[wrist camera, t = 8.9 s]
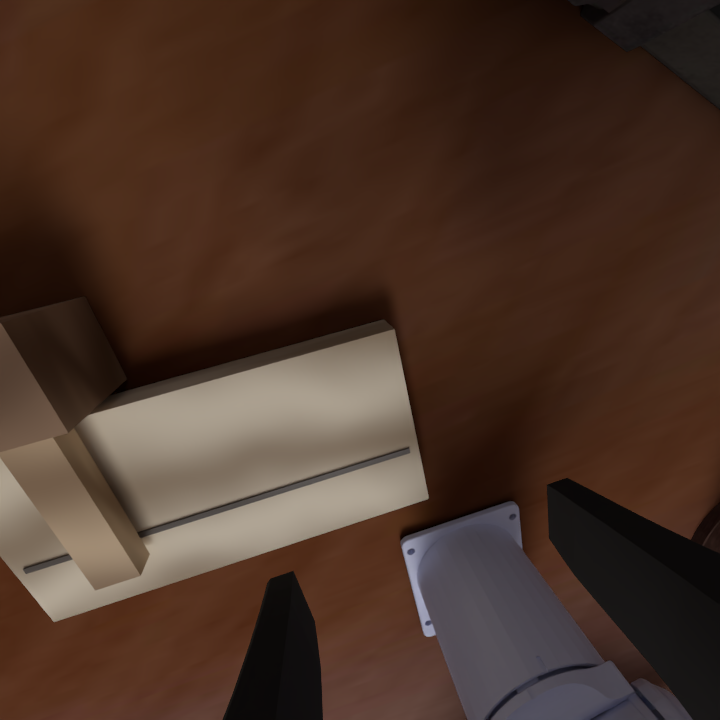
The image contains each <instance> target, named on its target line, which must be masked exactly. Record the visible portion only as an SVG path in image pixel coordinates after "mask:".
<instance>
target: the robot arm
mask: <svg viewBox="0 0 720 720" xmlns="http://www.w3.org/2000/svg"><path fill="white" fill-rule="evenodd" d="M547 495H548V522H549V539H550V540H551V542H552V543H553V545H554V546H555V548H556V549H557V551H558V552H559V554H560V555H561V557H562V558H563V559H564V561H565V562H566V564H567V565H568V566H569V568H570V569H571V571H572V572H573V574H574V575H575V576H576V577H577V579H578V580H579V581H580V582H581V583H582V585H583V586H584V587H585V588H586V589H587V591H588V592H589V593H590V594H591V595H592V596H593V598H594V599H595V600H596V601H597V602H598V604H599V605H600V606H601V607H602V608H603V609H604V611H605V612H606V613H607V614H608V615H609V616H610V618H611V619H612V620H613V621H614V622H615V623H616V625H617V626H618V627H619V628H620V629H621V630H622V632H623V633H624V634H625V635H626V636H627V638H628V639H629V640H630V641H631V642H632V643H633V645H634V646H635V647H636V648H637V649H638V650H639V652H640V653H641V654H642V655H643V656H644V657H645V659H646V660H647V661H648V662H649V663H650V664H651V666H652V667H653V668H654V669H655V671H656V672H657V673H658V674H659V676H660V677H661V678H662V679H663V681H664V682H665V683H666V684H667V686H668V687H669V688H670V690H671V691H672V692H673V694H674V695H675V696H676V697H675V696H674V695H673V694H671V693H670V692H669V691H667V690H666V689H664V688H661V687H659V686H657V685H654V684H651V683H650V682H649V681H647V680H645V679H643V678H638V679H637V680H635V681H633V682H632V683H631V686H630V684H629V683H628V682H627V680H626V679H625V678H624V676H623V675H622V674H621V672H620V671H619V670H618V668H617V667H616V666H615V664H614V663H613V662H612V661H610V660H609V661H607V662H605V661H604V660H603V659H602V657H601V656H600V655H599V653H598V652H597V651H596V649H595V648H594V647H593V645H592V644H591V642H590V641H589V640H588V638H587V637H586V636H585V634H584V633H583V632H582V630H581V629H580V628H579V626H578V625H577V623H576V622H575V621H574V619H573V618H572V617H571V615H570V614H569V613H568V611H567V610H566V609H565V607H564V606H563V604H562V603H561V602H560V600H559V599H558V598H557V596H556V595H555V594H554V592H553V591H552V589H551V588H550V587H549V585H548V584H547V583H546V581H545V580H544V579H543V577H542V576H541V575H540V573H539V572H538V570H537V569H536V568H535V566H534V565H533V564H532V562H531V561H530V560H529V558H528V557H527V556H526V554H525V553H524V551H523V549H522V538H521V527H520V515H519V507H518V505H517V504H516V503H515V502H513V501H509V502H506V503H503V504H500V505H497V506H494V507H491V508H488V509H485V510H482V511H479V512H476V513H473V514H470V515H467V516H464V517H461V518H458V519H455V520H452V521H449V522H446V523H443V524H440V525H437V526H434V527H431V528H428V529H425V530H423V531H420V532H417V533H414V534H411V535H408V536H405V537H404V538H403V539H402V540H401V547H402V551H403V555H404V559H405V563H406V567H407V571H408V575H409V579H410V583H411V587H412V591H413V595H414V598H415V602H416V606H417V610H418V614H419V618H420V622H421V626H422V630H423V633H424V635H425V636H428V637H430V636H433V635H436V636H437V639H438V641H439V644H440V647H441V649H442V652H443V655H444V658H445V660H446V663H447V666H448V668H449V671H450V674H451V677H452V679H453V682H454V685H455V687H456V690H457V693H458V696H459V698H460V701H461V704H462V707H463V709H464V712H465V715H466V717H467V720H720V553H718V552H716V551H713V550H711V549H709V548H707V547H705V546H702V545H700V544H698V543H696V542H693V541H691V540H689V539H687V538H685V537H683V536H681V535H679V534H676V533H674V532H672V531H670V530H668V529H666V528H664V527H662V526H660V525H658V524H656V523H654V522H652V521H650V520H648V519H646V518H644V517H642V516H640V515H638V514H636V513H634V512H632V511H630V510H628V509H626V508H624V507H622V506H620V505H618V504H616V503H615V502H613V501H611V500H609V499H607V498H605V497H603V496H601V495H599V494H597V493H595V492H593V491H592V490H590V489H588V488H586V487H584V486H582V485H580V484H578V483H576V482H574V481H572V480H570V479H568V478H565V479H562V480H559V481H557V482H554V483H551V484H548V485H547ZM511 514H512V515H511ZM409 549H410V550H409ZM223 720H323V712H322V686H321V666H320V658H319V650H318V642H317V635H316V627H315V621H314V618H313V616H312V614H311V611H310V609H309V607H308V604H307V602H306V600H305V597H304V595H303V593H302V590H301V588H300V586H299V583H298V581H297V578H296V576H295V574H294V571H292V572H289V573H286V574H283V575H280V576H277V577H274V578H271V579H270V580H269V582H268V583H267V587H266V590H265V594H264V598H263V601H262V605H261V609H260V612H259V616H258V619H257V622H256V626H255V629H254V632H253V635H252V638H251V642H250V645H249V648H248V651H247V654H246V657H245V659H244V662H243V665H242V668H241V671H240V674H239V677H238V680H237V683H236V686H235V689H234V691H233V694H232V697H231V699H230V702H229V705H228V707H227V710H226V713H225V715H224V718H223Z"/></svg>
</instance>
